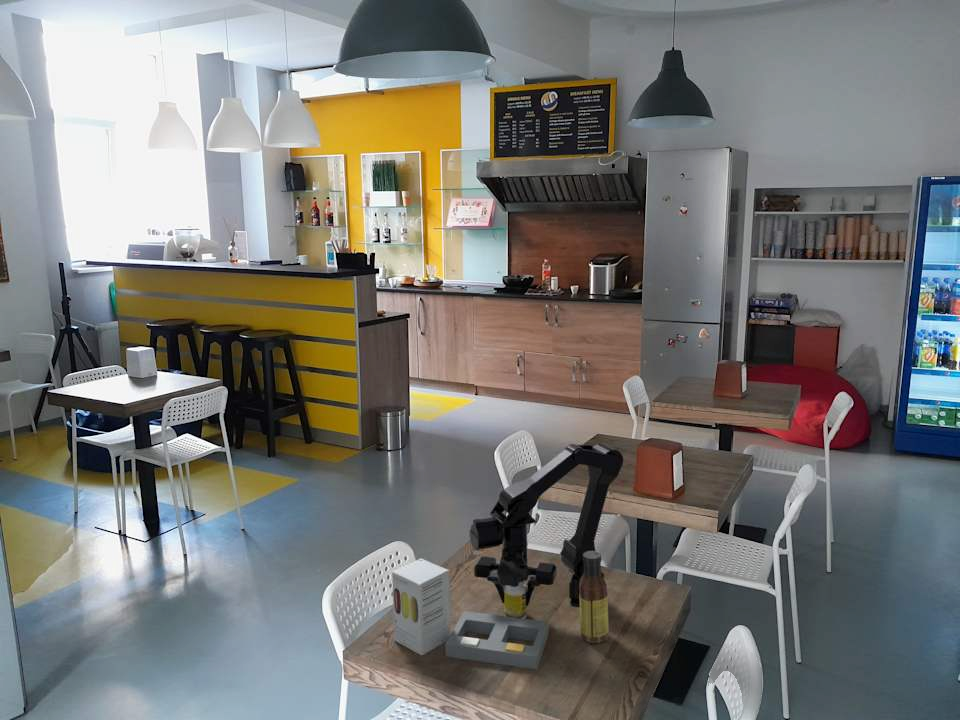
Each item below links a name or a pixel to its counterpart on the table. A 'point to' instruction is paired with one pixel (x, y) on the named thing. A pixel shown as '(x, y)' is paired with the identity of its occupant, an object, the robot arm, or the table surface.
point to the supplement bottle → (515, 601)
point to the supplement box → (421, 606)
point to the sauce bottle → (593, 600)
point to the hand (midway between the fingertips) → (515, 603)
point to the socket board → (498, 640)
